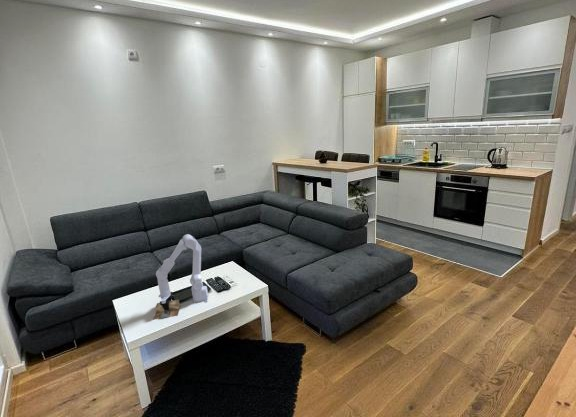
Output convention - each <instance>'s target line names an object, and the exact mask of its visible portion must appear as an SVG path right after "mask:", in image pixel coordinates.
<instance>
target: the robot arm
mask: <svg viewBox="0 0 576 417" xmlns="http://www.w3.org/2000/svg"><path fill="white" fill-rule="evenodd" d="M188 249H191V250H192V273H191V277H190V279H189V283H190V284H191V288H190V289H191V293H192V299H193V302H194V303H199V302H204V303H207V302H208V301H209V292H208V287H207V285H204V283H203V281H202V273H201V272H202V271H201V270H202V246H201V244H200V243H199V242H198V240H197V239H196V238H195V236H192V235H191V234H189V233H187V234H184V235H183V236H182V237H181V239H179V242H178V244H177V246H175V249H174V250H173V252H172V253H171V255H170V256H169V258H165V259H164V260H163V261H162V262H163V263H162V265H160V267H159V268H158V269H157V270H156V272H155V276H156V278H157V284H158V290H159V295H158V298H160V299H161V301H159V303H160V305H161V306H162V307H163V309H164V310H169V302H170V301H172V296H173V292H172V291H171V289H170V283H169V280H168V274H169V273H170V271H171V270H172V268H173V267H174V266H175V264H176V263H175V261H176V259H177V258H178V257H179V256H180V254H181V253H182V252H183V251H186V250H188Z"/></svg>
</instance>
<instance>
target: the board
mask: <svg viewBox="0 0 576 417" xmlns="http://www.w3.org/2000/svg"><path fill="white" fill-rule="evenodd" d="M180 309H181V306H180V307H179V309H175V310H169V312H170V311H171V315H170V317H169V318H172V317H173V318H174V317H178V316H179V312H180ZM162 313H163V312H157V311H155V314H154V317H153V319H152V320H153V321H154V320H160V319H162V318H161V314H162ZM166 318H168V317H166ZM166 318H165V319H166Z"/></svg>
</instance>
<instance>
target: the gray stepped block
mask: <svg viewBox="0 0 576 417" xmlns="http://www.w3.org/2000/svg"><path fill="white" fill-rule="evenodd" d="M170 315H171V311H170V312H169V310H165V311H163V313H162V314H161V319H166V317H167V318H171V317H170Z"/></svg>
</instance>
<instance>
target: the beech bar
mask: <svg viewBox="0 0 576 417" xmlns="http://www.w3.org/2000/svg"><path fill="white" fill-rule="evenodd" d="M179 307H180V308H181V304H180V300H179V299H174V300H171V301H170V302H169V310H175V309H179ZM155 310H156V311H157V312H163V311H165V310H164V309H163V307H162V306H161V305H160V302H157V303H156V304H155ZM179 310H180V309H179ZM156 311H155V312H156Z"/></svg>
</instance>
